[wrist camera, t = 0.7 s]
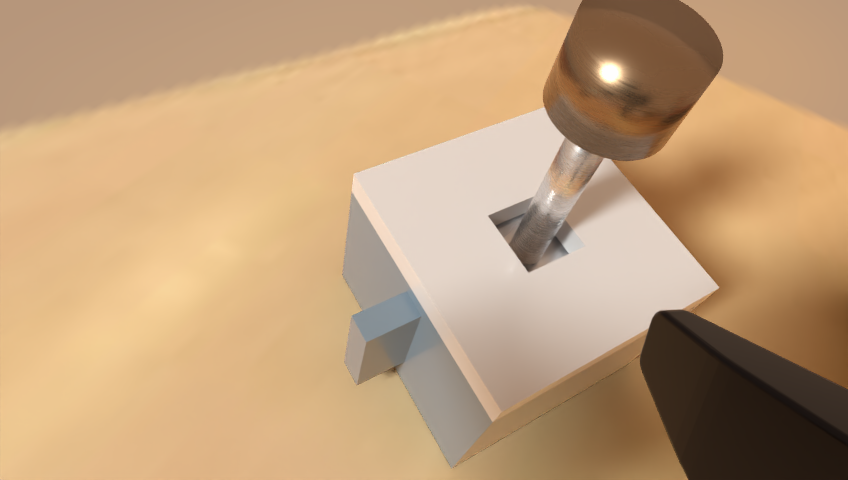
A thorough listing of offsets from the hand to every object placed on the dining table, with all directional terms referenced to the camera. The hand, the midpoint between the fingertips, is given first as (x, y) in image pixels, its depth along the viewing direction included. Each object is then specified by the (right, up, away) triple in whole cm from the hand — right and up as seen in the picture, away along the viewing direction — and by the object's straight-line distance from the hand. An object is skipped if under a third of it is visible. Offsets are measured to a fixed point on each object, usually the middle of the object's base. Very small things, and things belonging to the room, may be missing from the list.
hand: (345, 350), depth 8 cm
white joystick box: (+4, -2, +18) cm, 19 cm away
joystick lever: (+4, 0, +15) cm, 15 cm away
